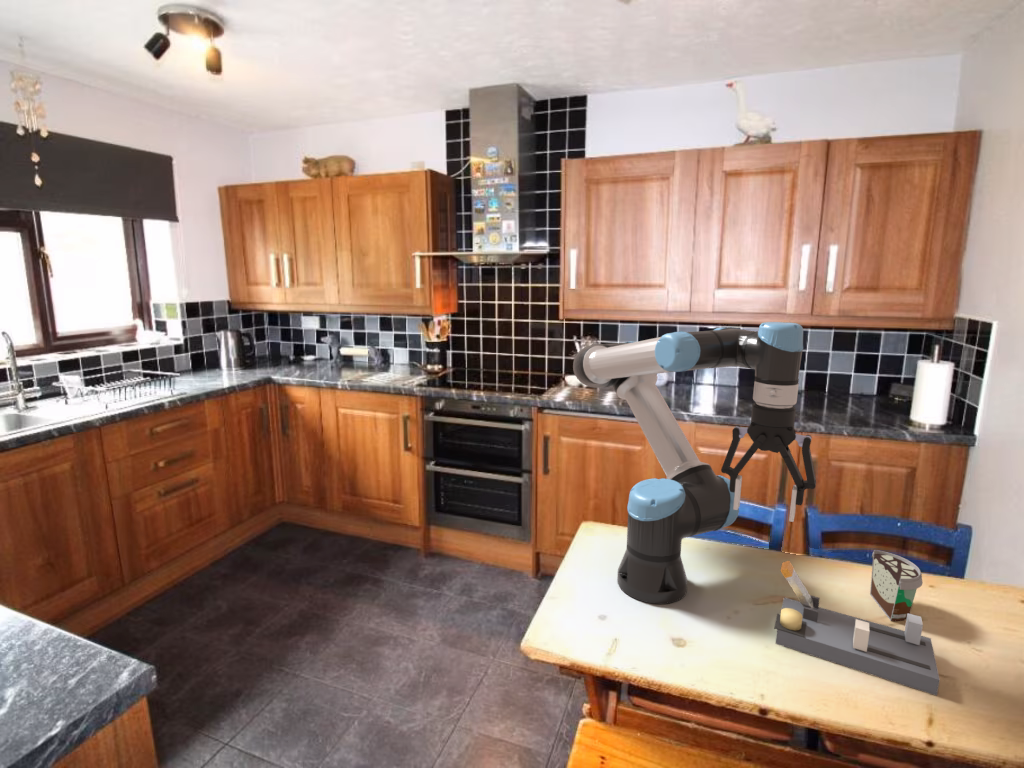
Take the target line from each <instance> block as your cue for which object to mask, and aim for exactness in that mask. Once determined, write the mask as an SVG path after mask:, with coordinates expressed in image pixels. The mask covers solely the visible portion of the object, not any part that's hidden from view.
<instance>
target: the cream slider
mask: <svg viewBox="0 0 1024 768" xmlns="http://www.w3.org/2000/svg"><path fill="white" fill-rule="evenodd" d="M869 632H870V631H869V623H868V622H864V621H861V620H857V619H856V621H855V628H854V636H853V648H855V649H859V650H862V651H865V652H867V646H868V639H869Z"/></svg>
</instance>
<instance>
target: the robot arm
mask: <svg viewBox="0 0 1024 768" xmlns="http://www.w3.org/2000/svg"><path fill="white" fill-rule="evenodd" d="M803 350H804V328H803V326H802V325H801V324H800V323H796V322H782V321H766V322H761V324H760V325H759V329H758V330H750V329H742V328H736V327H717V328H714V329H711V330H703V331H674V332H669V333H665V334H663V335H661V336H660V337H654V338H653V337H652V338H649V339H645V340H643V339H642V340H640V341H639V340H638V341H625V342H618V343H615V342H614V343H596V344H591V345H587V346H585V347H582V349H580V350H579V351H578V352H577V354H576V355H575V357H574V358H573V363H572V364H573V365H572V368H573V369H572V370H573V373H574V375H575V378H576V379H577V381H579V382H580V383H581V384H583V385H584V386H586V387H588V388H596V389H600V388H601V389H602V388H612V389H613V390H614V392H615V394H616V396H617V397H618V398H619V399H621V400H626V403H627V404H628V407H629V408H630V410H631V412H632V414H633V415H634V417H635V419H636V421H637V423H638V426H639V427H640V429H641V431H642V433H643V435H644V436H645V438H646V439H647V442H648V444H649V445H650V447H651V449H652V452H653V453H654V455H655V457H656V459H657V461H658V463H659V464H660V467H661V469H662V470H663V472H664V473H665V477H666V478H665V477H664V478H662V477H661V478H659V479H658V478H655V477H654V478H649V479H644V480H641V481H639V482H637V483H635V485H633V487H632V488H631V489H630V490H629V495H628V503H627V526H626V527H627V532H626V549H625V552H624V554H623V556H622V559H621V562H620V564H619V567H618V569H617V584H618V587H619V588H620V589H621V591H623V592H624V594H626V595H628V596H629V597H631V598H634V599H636V600H638V601H640V602H644V603H648V604H655V605H656V604H659V605H661V604H662V605H663V604H664V605H665V604H670V603H671V604H672V603H675V602H678V601H680V600H681V599H683V598H684V597H685V596H686V593H687V590H688V577H687V575H686V570H685V567H684V564H683V560H682V555H681V554H682V553H681V552H682V540H683V539H686V538H690V537H693V536H697V535H701V534H706V533H710V532H717V531H720V530H721V529H724V528H727V527H729V526H731V525H733V523H735V521H736V520H737V518H738V516H739V514H740V507H741V492H742V483H743V475H740V473H741V472H742V470H743V469H744V468H745V466H746V465H747V463H749V461H750V460H751V459H752V457H753V456H754V454H755V453H756V452H757V451H758V450H759V451H764V452H766V451H767V452H768V451H769V452H772V453H774V454H775V453H777V454H778V453H779V455H780V456H781V458H782V459H783V461H784V463H785V465H786V468H787V469H788V471H789V474H790V476H791V478H792V480H793V482H794V484H793V485H792V490H791V491H792V492H791V498H790V499H791V500H790V508H789V509H790V510H789V515H788V516H789V518H788V522H792V523H794V520H795V516H796V507H797V506H802V505H803V503H804V497H805V496H804V495H805V490H807V489H810V490H815V488H816V484H817V479H816V475H815V469H814V462H813V457H812V452H811V444H812V439H813V437H812V436H811V435H810V434H806V435H803V434H799V433H797V432H796V430H795V419H796V413H797V409H796V407H795V406H794V405H796V404H797V401H798V393H799V385H800V384H799V381H800V380H799V379H800V377H799V376H800V368H801V361H802V355H803ZM726 367H727V368H728V367H739V368H745V369H751V370H754V382H753V383H754V385H753V394H752V399H753V401H754V402H753V403H752V405H751V417H750V424H749V426H748V427H744V426H743V427H742V426H740V425H735V426H734V427H733V429H732V431H731V433H732V440H731V442H730V446H729V447H728V451H727V454H726V455H725V459H724V462H722V463H723V464H722V466H721V469H720V471H721V472H720V473H723V474H726V475H728V477H725V476H724V475H718V474H717V475H716V473H715V471H714V470H713V468H712V466H711V465H710V464H709V463H706V462H702V461H701V460H700V459H699V457H698V455H697V454H696V452H695V450H694V448H693V446H692V445H691V443H690V442H689V440H688V437H687V436H686V434H685V433H684V431H683V429H682V428H681V426H680V424H679V423H678V421H677V419H676V417H675V416H674V414H673V412H672V410H671V409H670V407H669V406H668V404H667V402H666V400H665V398H664V397H663V395H662V393H661V392H660V389H659V388H658V387H657V385H656V383H657V381H658V377H659V376H658V374H664V373H679V372H680V373H681V372H686V371H695V370H704V369H717V368H726ZM746 434H748V437H749V438H750V439H751V441H752V443H751V445H750V446H749V447H748V449H747V450H746V452H745V453H744V454H743V456H741V458H740V459H739V461H738V462H737V464H736V465H735V466H734V467H731V465H732V462H733V461H734V457H735V455H736V452H737V451H738V450H737V449H738V447H739V444H740V442H741V440H742V439H743V438H744V437H745V436H746ZM794 441H796V442H797V445H798V447H800V448H801V455H802V460H803V465H804V466H803V467H804V471H805V477H806V479H805V480H804V478H803V476H802V474H801V471H800V469H799V468H798V465H797V463H796V461H795V459H794V456H793V455H792V452H791V449H790V447H789V446H790V445H791V444H792V443H793V442H794Z"/></svg>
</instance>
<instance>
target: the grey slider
mask: <svg viewBox="0 0 1024 768" xmlns="http://www.w3.org/2000/svg"><path fill="white" fill-rule="evenodd" d="M923 626H924V624H923V621H922V616H919V615H915V614H912V613H910V614H909V613H907V619H906V620H905V626H904V631H905V632H904V634H905V640H906V642H910V643H913V644H917V645H920V639H921V636H922V634H923V633H922V632H923V628H924V627H923Z"/></svg>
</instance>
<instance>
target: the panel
mask: <svg viewBox="0 0 1024 768" xmlns="http://www.w3.org/2000/svg"><path fill="white" fill-rule="evenodd" d="M810 596H811V598H812V599H813V602H814V603H815V606H814V609H812V608H808V607H805V606H804V607H803V605H802V604H801V602H800V600H799V601H798V600H797V599H796V600H795V599H791V598H788V597H783V600H782V603H781V604H782V605H781V608H780V611H781V610H782V609H784V608H791V609H794V610H797V611H798V612H800V613H801V614H802V616H803V617H802V626H801V629H800V630H796V631H795V630H789V629H787V628H785V627H783V626H782V625H781V624H780V616H781V612H780V613H777V614H776V618H775V621H774V622H775V623H774V630H776V637H775V644H776V645H778V646H781V647H785V648H787V649H792V650H793V651H798V652H801V653H803V654H807V655H810V656H813V657H816V658H819V659H822V660H825V661H829V662H832V663H835V664H838V665H841V666H844V667H847V668H849V669H853V670H856V671H859V672H862V673H866V674H868V675H871V676H875V677H877V678H881V679H884V680H887V681H890V682H892V683H896V684H900V685H903V686H906V687H909V688H912V689H915V690H918V691H920V692H921V691H922V692H924V693H927V694H930V695H933V696H938V691H939V687H940V680H941V679H940V675H939V670H938V665H937V661H936V656H935V653H934V652H935V651H934V648H933V647H934V646H933V642H932V638H931V637H927V636H924V635H921V639H920V645H917V644H913V643H910V642H906V640H905V634H904V632H905V630H902V629H900V628H899V629H898V628H895V627H893V626H888V625H884V624H881V623H878V622H874V621H870V620H867V619H864V618H861V617H857V616H852V615H849V614H845V613H842V612H838V611H834V610H831V609H827V608H823V607H822V606H821V607H820V597H819V596H815V595H811V594H810ZM856 619H857V620H861V621H864V622H868V623H869V631H870V632H869V639H868V646H867V652H865V651H862V650H859V649H855V648H853V636H854V628H855V621H856Z"/></svg>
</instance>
